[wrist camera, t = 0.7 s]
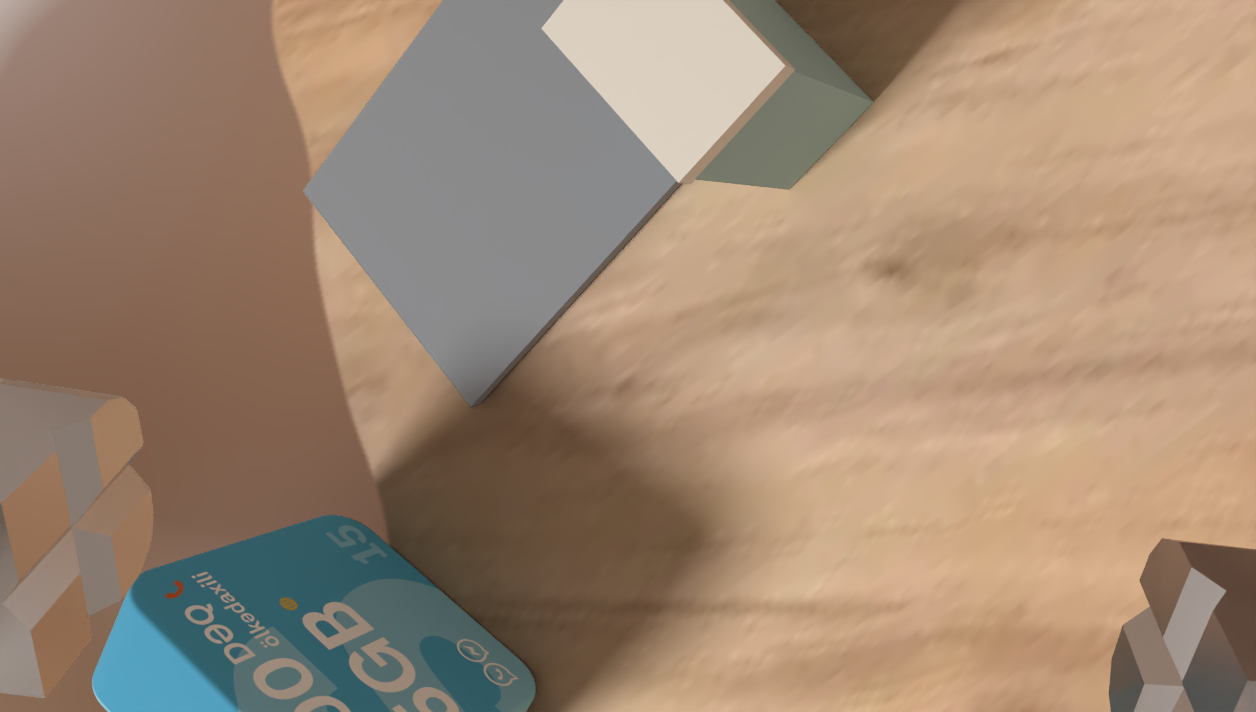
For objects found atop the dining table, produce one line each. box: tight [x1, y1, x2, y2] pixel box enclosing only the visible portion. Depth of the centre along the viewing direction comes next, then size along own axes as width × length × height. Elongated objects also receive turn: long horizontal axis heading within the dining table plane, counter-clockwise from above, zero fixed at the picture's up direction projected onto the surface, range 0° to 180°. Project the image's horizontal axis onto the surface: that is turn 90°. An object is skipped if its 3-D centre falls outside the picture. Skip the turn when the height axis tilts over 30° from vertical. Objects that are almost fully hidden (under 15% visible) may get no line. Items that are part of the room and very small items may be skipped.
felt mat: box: [303, 0, 682, 407], centre depth 44 cm, size 14×12×1 cm
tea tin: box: [541, 0, 874, 190], centre depth 35 cm, size 4×6×9 cm
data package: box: [92, 515, 536, 712], centre depth 43 cm, size 12×4×12 cm, turn 60°
